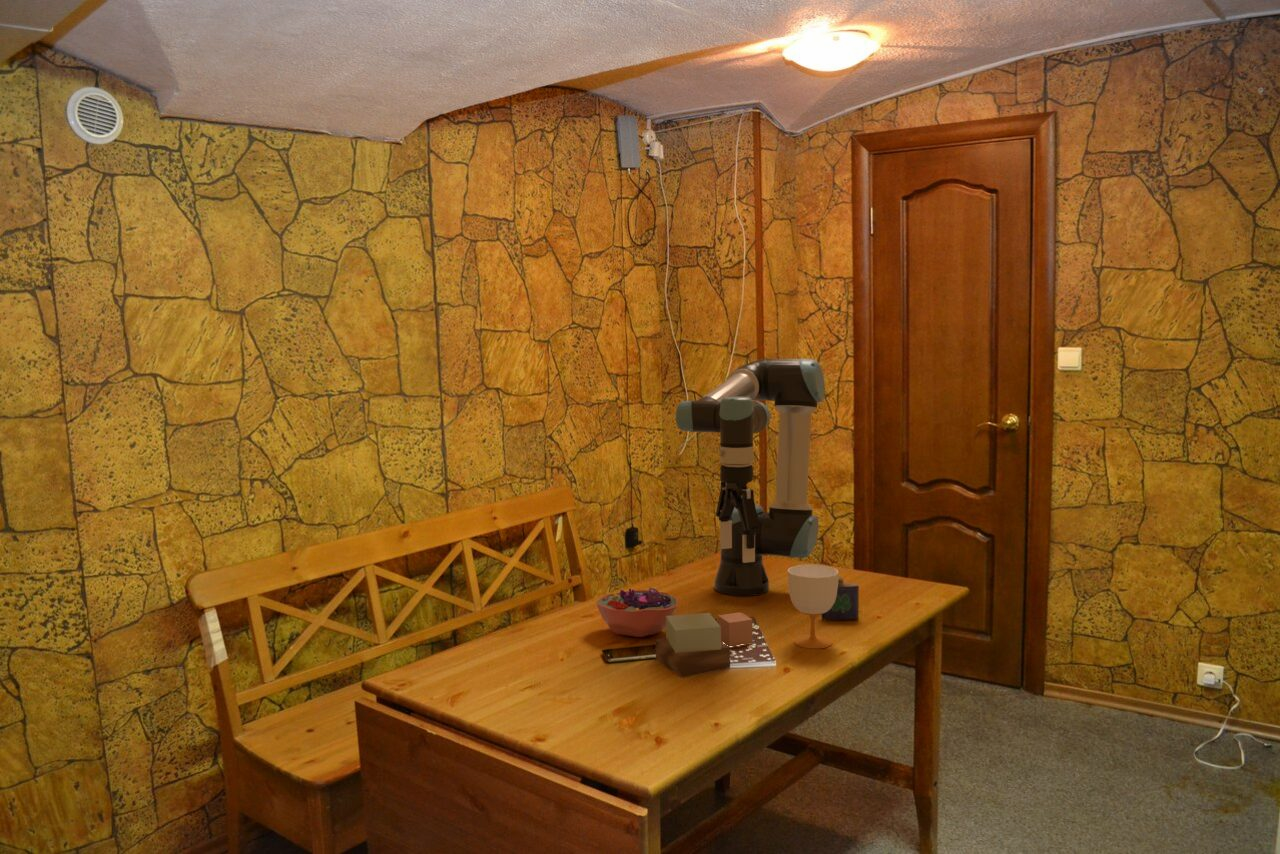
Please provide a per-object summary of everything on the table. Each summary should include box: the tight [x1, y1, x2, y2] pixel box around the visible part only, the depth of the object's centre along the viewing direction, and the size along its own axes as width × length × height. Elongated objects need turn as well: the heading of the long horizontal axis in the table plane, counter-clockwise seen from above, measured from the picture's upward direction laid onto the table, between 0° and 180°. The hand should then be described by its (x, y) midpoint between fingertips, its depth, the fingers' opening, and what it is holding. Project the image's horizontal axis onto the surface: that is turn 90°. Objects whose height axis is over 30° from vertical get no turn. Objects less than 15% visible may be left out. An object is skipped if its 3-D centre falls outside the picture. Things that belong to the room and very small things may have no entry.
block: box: [717, 611, 754, 646], centre depth 218 cm, size 6×6×6 cm
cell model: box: [595, 587, 679, 638], centre depth 224 cm, size 17×20×11 cm
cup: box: [787, 563, 840, 650], centre depth 216 cm, size 12×12×17 cm
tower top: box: [665, 612, 721, 653], centre depth 204 cm, size 10×10×5 cm
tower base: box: [655, 637, 731, 679], centre depth 204 cm, size 12×12×5 cm
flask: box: [821, 576, 860, 622], centre depth 232 cm, size 9×3×11 cm, turn 88°
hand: (737, 555), depth 215 cm, fingers open, 13 cm apart
